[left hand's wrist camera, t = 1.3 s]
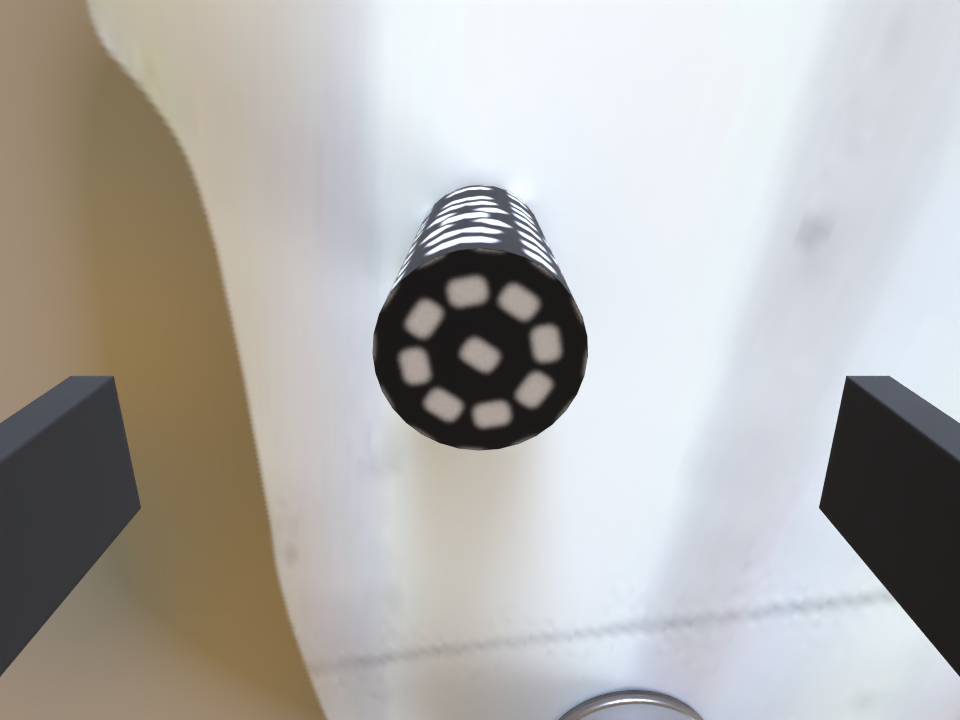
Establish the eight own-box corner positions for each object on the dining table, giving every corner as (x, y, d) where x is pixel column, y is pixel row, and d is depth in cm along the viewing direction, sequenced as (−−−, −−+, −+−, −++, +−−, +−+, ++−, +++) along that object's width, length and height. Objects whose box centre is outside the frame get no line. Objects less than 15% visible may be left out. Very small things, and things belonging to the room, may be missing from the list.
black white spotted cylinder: (568, 233, 45) (632, 328, 26) (495, 332, 47) (505, 485, 28) (463, 158, 43) (450, 202, 24) (393, 265, 45) (332, 380, 27)
